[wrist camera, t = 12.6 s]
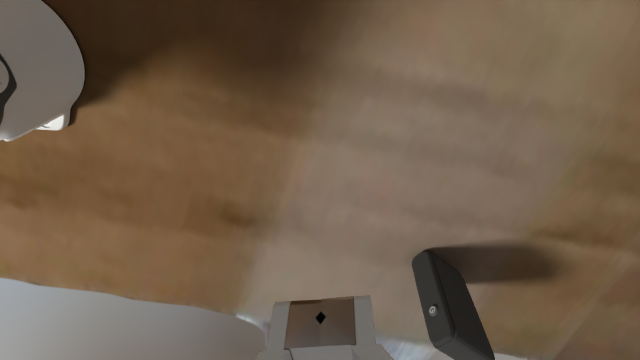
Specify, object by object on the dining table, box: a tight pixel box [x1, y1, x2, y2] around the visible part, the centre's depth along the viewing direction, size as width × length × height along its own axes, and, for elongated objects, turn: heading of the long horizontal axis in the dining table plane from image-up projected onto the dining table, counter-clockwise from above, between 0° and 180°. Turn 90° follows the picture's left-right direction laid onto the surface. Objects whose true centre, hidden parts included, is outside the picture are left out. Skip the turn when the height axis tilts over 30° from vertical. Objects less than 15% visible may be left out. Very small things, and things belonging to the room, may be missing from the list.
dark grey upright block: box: [412, 251, 495, 360], centre depth 51 cm, size 9×4×15 cm, turn 50°
